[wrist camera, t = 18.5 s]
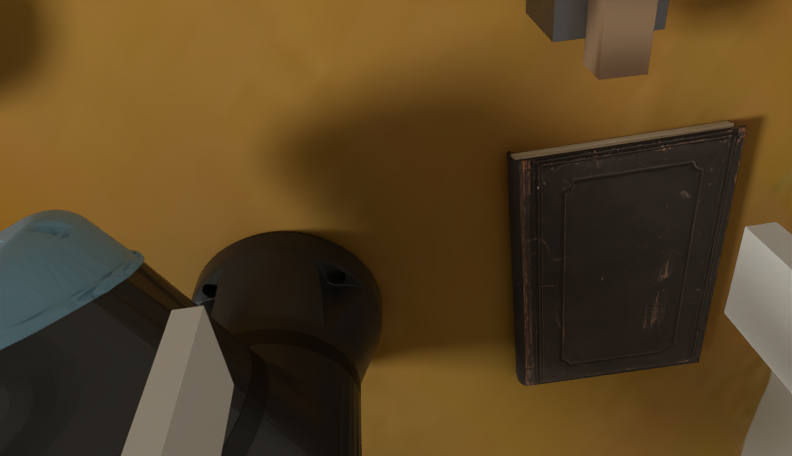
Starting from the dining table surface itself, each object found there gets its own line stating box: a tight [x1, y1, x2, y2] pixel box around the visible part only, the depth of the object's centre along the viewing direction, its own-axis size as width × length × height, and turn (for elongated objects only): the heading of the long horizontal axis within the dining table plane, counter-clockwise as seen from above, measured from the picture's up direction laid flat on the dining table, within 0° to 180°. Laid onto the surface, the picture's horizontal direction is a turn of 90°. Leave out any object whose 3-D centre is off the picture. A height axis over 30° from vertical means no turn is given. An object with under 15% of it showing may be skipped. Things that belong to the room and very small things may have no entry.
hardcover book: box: [507, 121, 747, 386], centre depth 48 cm, size 16×23×2 cm
